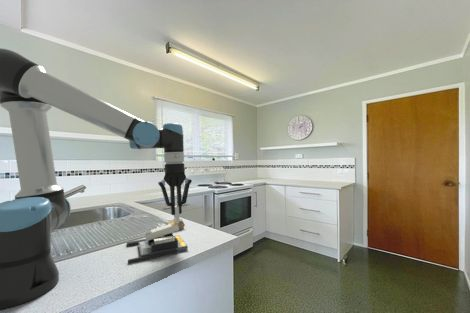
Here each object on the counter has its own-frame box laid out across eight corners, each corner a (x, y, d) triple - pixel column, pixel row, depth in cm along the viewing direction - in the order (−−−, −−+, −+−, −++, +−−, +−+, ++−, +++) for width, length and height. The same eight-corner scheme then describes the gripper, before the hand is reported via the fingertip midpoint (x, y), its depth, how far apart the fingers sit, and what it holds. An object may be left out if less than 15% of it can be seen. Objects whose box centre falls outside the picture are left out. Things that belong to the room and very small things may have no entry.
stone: (166, 232, 100) (167, 222, 100) (165, 226, 110) (165, 217, 110) (185, 230, 103) (185, 220, 103) (182, 224, 113) (182, 215, 113)
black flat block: (141, 259, 73) (141, 244, 73) (138, 246, 84) (138, 232, 84) (187, 250, 80) (187, 236, 80) (179, 238, 92) (179, 226, 92)
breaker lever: (146, 241, 78) (145, 234, 78) (145, 238, 81) (144, 231, 81) (179, 230, 84) (177, 223, 83) (177, 227, 87) (176, 221, 86)
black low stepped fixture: (127, 263, 70) (127, 260, 70) (126, 244, 86) (126, 241, 86) (182, 252, 78) (182, 249, 78) (172, 236, 94) (172, 234, 94)
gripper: (158, 164, 78) (161, 228, 78) (193, 162, 84) (195, 222, 85) (155, 163, 85) (158, 223, 85) (188, 162, 91) (190, 217, 91)
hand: (176, 222), depth 85 cm, fingers closed
